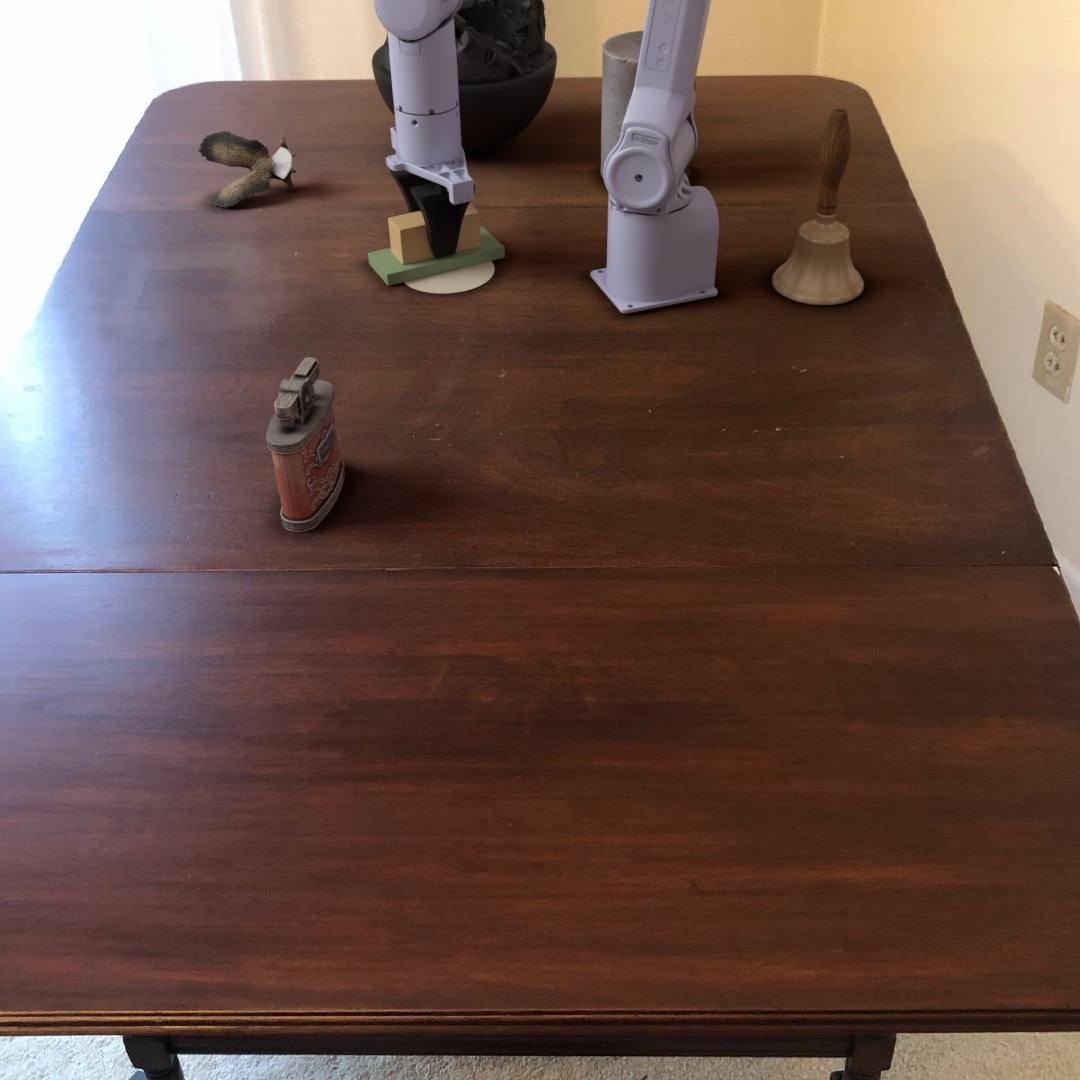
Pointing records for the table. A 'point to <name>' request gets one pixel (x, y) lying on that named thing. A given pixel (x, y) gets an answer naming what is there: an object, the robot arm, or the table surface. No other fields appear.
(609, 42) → the pillar candle
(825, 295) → the hand bell
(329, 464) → the lighter
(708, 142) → the table surface
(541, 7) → the bowl of black rocks
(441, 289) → the spill
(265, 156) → the eagle figurine
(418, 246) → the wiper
